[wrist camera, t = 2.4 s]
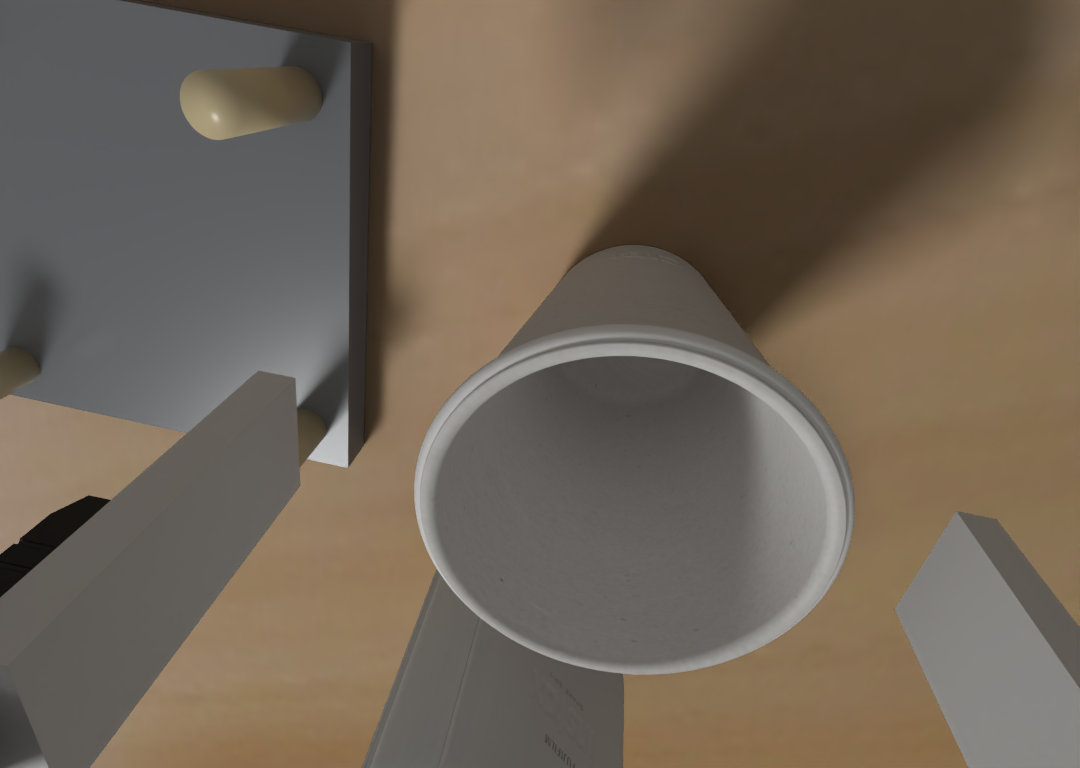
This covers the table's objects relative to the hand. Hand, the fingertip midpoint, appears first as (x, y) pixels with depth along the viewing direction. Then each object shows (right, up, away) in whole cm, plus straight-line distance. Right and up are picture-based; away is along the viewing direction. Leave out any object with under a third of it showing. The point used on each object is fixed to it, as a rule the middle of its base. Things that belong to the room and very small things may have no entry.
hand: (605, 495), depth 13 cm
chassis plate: (-14, +7, +9) cm, 18 cm away
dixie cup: (+2, +4, +8) cm, 9 cm away
